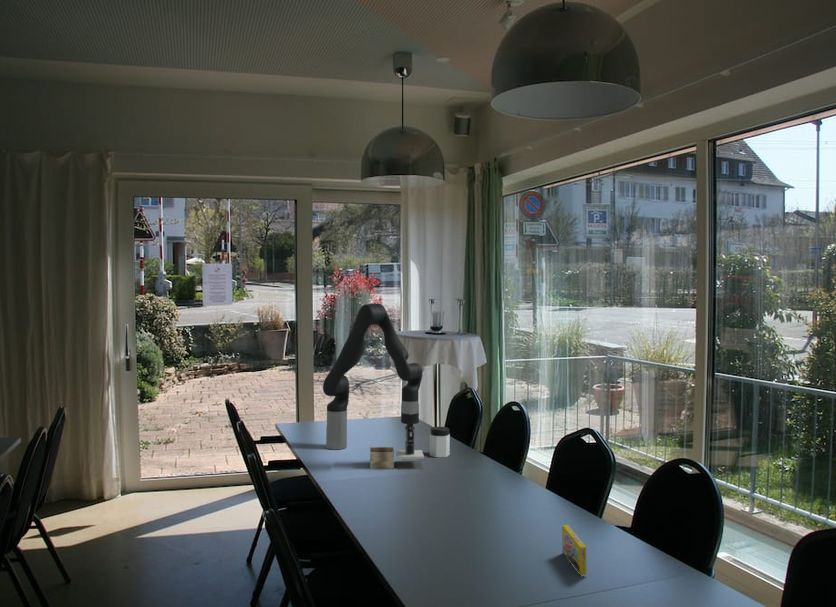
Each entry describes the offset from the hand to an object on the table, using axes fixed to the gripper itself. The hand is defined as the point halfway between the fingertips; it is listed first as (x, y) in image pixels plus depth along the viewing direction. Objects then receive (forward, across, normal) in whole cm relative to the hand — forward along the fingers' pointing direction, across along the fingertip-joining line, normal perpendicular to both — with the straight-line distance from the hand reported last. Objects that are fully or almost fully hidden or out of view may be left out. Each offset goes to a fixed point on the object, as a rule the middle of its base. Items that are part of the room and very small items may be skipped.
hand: (409, 452), depth 288 cm
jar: (+6, -18, +14) cm, 24 cm away
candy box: (+7, +102, +38) cm, 109 cm away
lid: (+2, 0, 0) cm, 2 cm away
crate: (+6, 0, -12) cm, 13 cm away
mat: (+6, 0, 0) cm, 6 cm away
